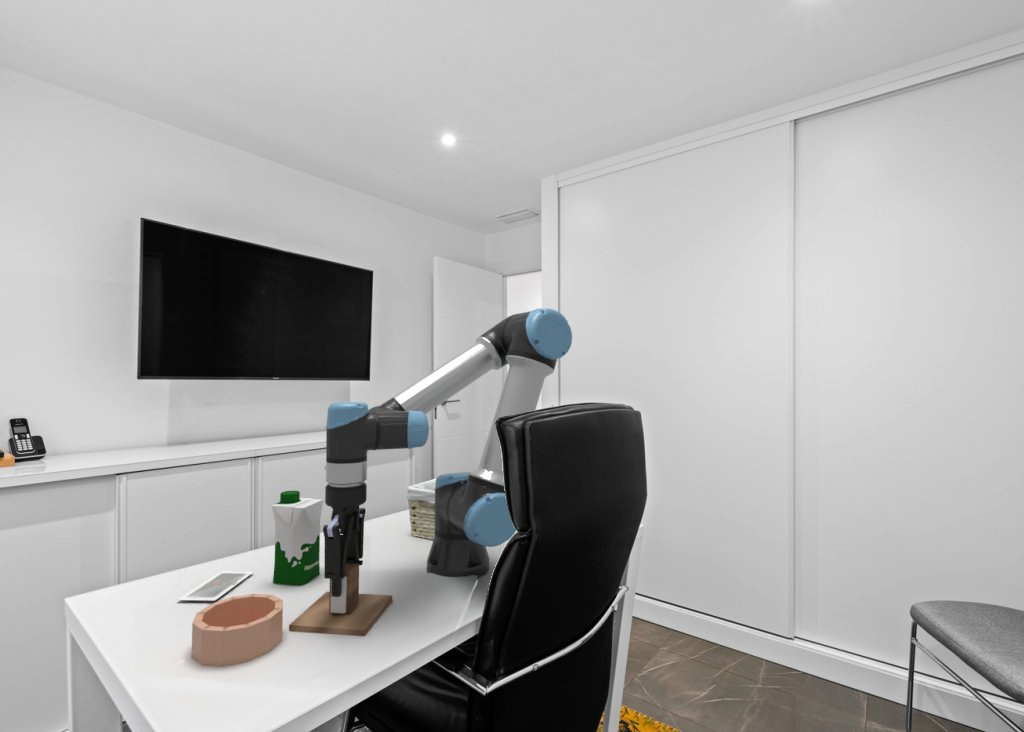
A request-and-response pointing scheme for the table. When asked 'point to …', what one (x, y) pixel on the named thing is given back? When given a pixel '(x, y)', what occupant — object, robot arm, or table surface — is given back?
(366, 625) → the cover board
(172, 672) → the table surface
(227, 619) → the bowl
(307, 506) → the milk carton
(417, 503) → the storage basket
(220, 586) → the touchpad
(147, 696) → the table surface
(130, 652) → the table surface
